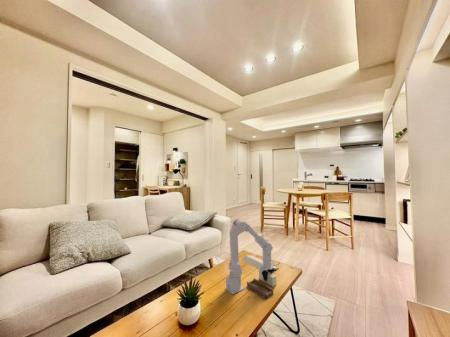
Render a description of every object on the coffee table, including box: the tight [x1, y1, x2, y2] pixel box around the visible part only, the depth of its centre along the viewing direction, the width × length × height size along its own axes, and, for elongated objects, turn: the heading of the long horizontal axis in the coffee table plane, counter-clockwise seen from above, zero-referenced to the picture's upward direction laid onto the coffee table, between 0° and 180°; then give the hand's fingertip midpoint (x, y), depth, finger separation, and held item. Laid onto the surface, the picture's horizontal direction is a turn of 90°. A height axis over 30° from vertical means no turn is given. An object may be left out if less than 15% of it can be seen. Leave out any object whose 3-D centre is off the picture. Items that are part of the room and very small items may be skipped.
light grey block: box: [258, 271, 277, 288], centre depth 129 cm, size 4×12×6 cm, turn 37°
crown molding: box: [241, 254, 280, 271], centre depth 154 cm, size 29×12×4 cm, turn 39°
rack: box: [246, 278, 274, 300], centre depth 120 cm, size 7×16×3 cm, turn 37°
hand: (267, 279), depth 129 cm, fingers closed on light grey block, 3 cm apart
